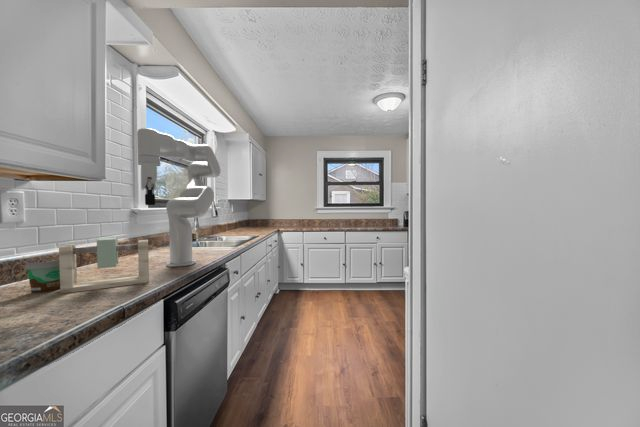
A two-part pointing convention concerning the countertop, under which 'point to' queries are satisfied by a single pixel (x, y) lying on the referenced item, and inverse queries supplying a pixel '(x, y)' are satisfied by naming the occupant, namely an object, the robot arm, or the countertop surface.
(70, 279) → the shelf stand
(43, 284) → the food container
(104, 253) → the sage green brick
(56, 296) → the countertop surface
